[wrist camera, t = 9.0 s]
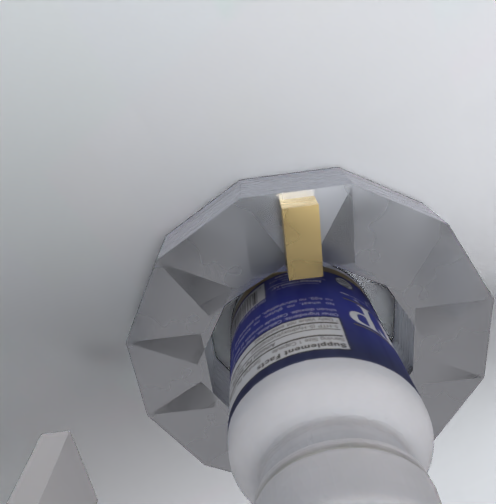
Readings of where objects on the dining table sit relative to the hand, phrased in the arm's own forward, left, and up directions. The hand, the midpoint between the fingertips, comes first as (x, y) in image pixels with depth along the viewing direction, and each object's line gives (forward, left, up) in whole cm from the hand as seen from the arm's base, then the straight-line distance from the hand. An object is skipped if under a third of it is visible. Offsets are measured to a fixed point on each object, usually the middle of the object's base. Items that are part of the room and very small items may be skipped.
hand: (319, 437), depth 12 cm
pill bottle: (0, 0, -6) cm, 6 cm away
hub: (0, 0, -5) cm, 5 cm away
